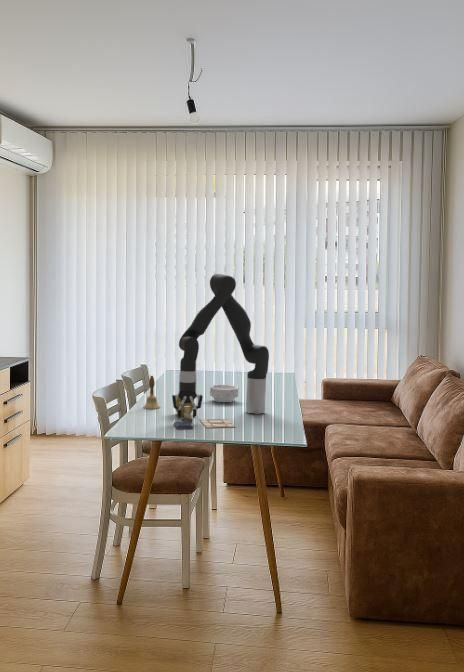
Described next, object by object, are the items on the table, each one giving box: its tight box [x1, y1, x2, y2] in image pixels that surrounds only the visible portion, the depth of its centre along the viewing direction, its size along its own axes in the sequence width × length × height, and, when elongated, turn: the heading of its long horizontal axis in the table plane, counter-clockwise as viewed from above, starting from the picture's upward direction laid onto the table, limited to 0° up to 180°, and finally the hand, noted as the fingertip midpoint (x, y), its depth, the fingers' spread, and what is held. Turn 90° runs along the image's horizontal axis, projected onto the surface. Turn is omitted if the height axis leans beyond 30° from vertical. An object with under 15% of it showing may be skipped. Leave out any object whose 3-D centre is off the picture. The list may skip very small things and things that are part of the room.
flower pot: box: [175, 397, 193, 417], centre depth 307 cm, size 9×9×9 cm
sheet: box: [199, 418, 236, 429], centre depth 290 cm, size 16×13×1 cm
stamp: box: [180, 406, 193, 424], centre depth 291 cm, size 5×5×7 cm
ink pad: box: [173, 420, 194, 430], centre depth 282 cm, size 9×7×2 cm
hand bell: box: [143, 375, 161, 410], centre depth 322 cm, size 8×8×16 cm
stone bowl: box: [209, 384, 240, 403], centre depth 345 cm, size 15×15×8 cm
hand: (186, 417), depth 291 cm, fingers open, 5 cm apart
